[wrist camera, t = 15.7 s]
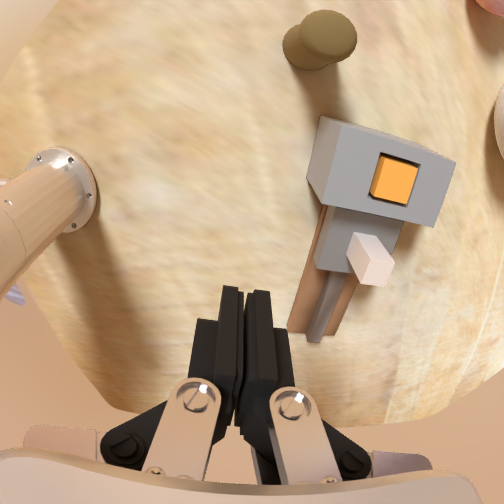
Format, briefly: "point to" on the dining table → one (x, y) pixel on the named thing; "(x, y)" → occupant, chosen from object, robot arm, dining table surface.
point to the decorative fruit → (493, 6)
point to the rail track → (314, 290)
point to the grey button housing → (363, 167)
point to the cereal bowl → (499, 120)
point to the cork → (320, 40)
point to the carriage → (358, 244)
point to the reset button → (393, 179)
